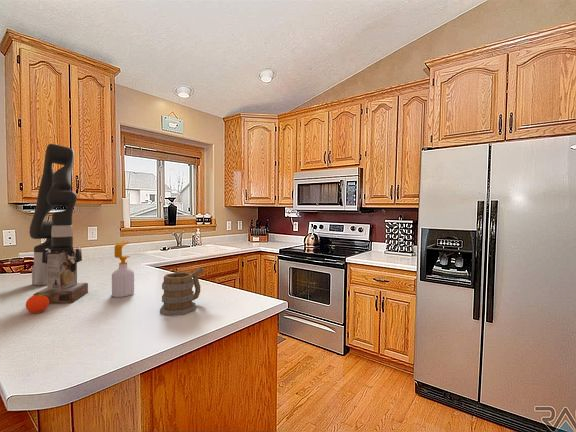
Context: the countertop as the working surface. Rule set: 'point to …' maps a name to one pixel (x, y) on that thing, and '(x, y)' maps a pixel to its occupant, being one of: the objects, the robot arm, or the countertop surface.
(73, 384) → the countertop surface
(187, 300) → the tankard
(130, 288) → the soap bottle
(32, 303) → the clementine
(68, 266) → the coffee box
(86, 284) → the dock
